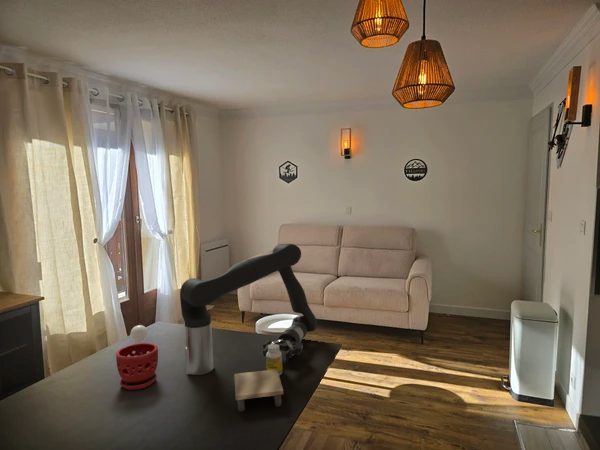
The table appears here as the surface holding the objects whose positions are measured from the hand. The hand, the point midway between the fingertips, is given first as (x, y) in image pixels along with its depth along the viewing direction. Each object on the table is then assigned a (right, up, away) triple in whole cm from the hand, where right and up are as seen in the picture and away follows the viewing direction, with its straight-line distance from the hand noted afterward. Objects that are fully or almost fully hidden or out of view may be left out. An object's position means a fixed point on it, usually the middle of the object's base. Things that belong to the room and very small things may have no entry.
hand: (275, 354), depth 141 cm
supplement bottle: (0, -6, -1) cm, 6 cm away
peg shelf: (-4, -8, -17) cm, 19 cm away
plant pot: (-46, -8, -5) cm, 47 cm away
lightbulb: (-56, -5, +20) cm, 60 cm away
